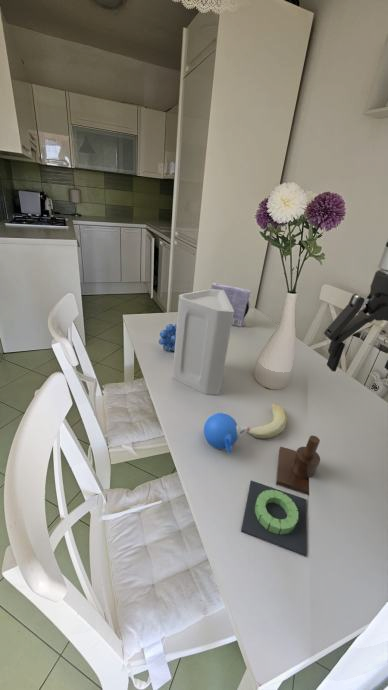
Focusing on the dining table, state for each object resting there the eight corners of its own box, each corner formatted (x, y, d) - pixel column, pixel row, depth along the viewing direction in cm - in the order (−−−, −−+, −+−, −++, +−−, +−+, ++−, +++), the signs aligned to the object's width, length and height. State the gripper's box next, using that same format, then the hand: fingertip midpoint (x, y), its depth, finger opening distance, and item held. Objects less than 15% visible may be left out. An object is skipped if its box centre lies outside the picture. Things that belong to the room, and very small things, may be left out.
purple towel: (245, 324, 148) (252, 289, 140) (244, 328, 144) (251, 292, 135) (208, 316, 152) (212, 281, 144) (205, 319, 148) (210, 284, 140)
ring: (296, 503, 64) (298, 498, 63) (295, 541, 57) (297, 535, 56) (258, 489, 66) (259, 484, 65) (251, 524, 59) (253, 518, 58)
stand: (324, 463, 75) (338, 430, 70) (327, 501, 66) (344, 466, 60) (279, 449, 78) (290, 416, 72) (275, 484, 68) (287, 448, 63)
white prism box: (172, 361, 111) (178, 286, 98) (212, 363, 112) (223, 290, 99) (172, 393, 94) (180, 308, 81) (219, 395, 95) (234, 311, 82)
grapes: (187, 346, 122) (190, 319, 116) (188, 355, 116) (191, 326, 110) (158, 344, 120) (160, 316, 115) (157, 353, 114) (159, 324, 109)
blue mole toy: (255, 459, 74) (262, 433, 70) (208, 463, 71) (213, 437, 67) (239, 424, 84) (244, 400, 80) (197, 427, 81) (201, 402, 78)
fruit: (294, 420, 88) (297, 411, 87) (269, 447, 78) (272, 437, 76) (272, 408, 92) (274, 399, 91) (245, 432, 82) (247, 423, 80)
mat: (305, 500, 65) (306, 499, 65) (305, 556, 55) (306, 555, 55) (250, 481, 68) (250, 480, 68) (240, 531, 58) (241, 530, 58)
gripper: (444, 272, 61) (402, 363, 71) (326, 263, 59) (299, 358, 69) (477, 283, 55) (425, 381, 64) (345, 273, 52) (313, 376, 62)
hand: (360, 369), depth 67 cm, fingers open, 13 cm apart
